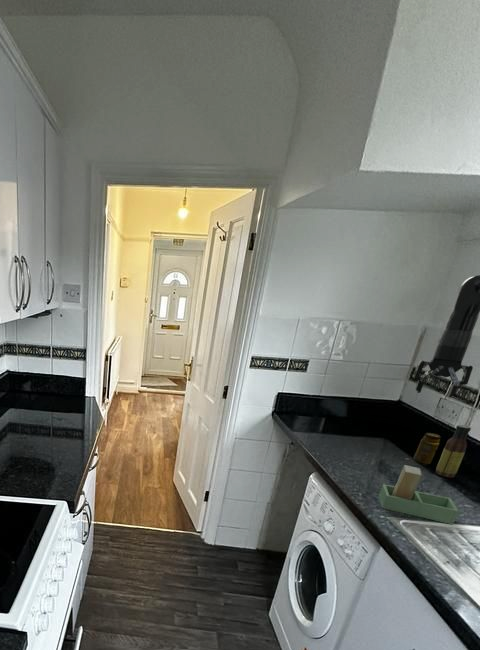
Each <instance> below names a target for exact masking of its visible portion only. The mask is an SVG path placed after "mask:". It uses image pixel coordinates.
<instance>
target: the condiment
mask: <svg viewBox="0 0 480 650" xmlns="http://www.w3.org/2000/svg"><path fill="white" fill-rule="evenodd" d="M441 439H442V436H440V434H437V433H432V432H425V434H424V436H423V437H422V438H421V440H420V442H419V444H418V447H417V449H416V451H415V453H414V455H413V457H406V458H405V460H408V461H410V460H411V459H413V461H414V462H416V463H419V464H422V465H430V464H431V463H432V461H433V459H434V457H435V454H436V453H437V450H438V448H439V446H440V441H441Z"/></svg>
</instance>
